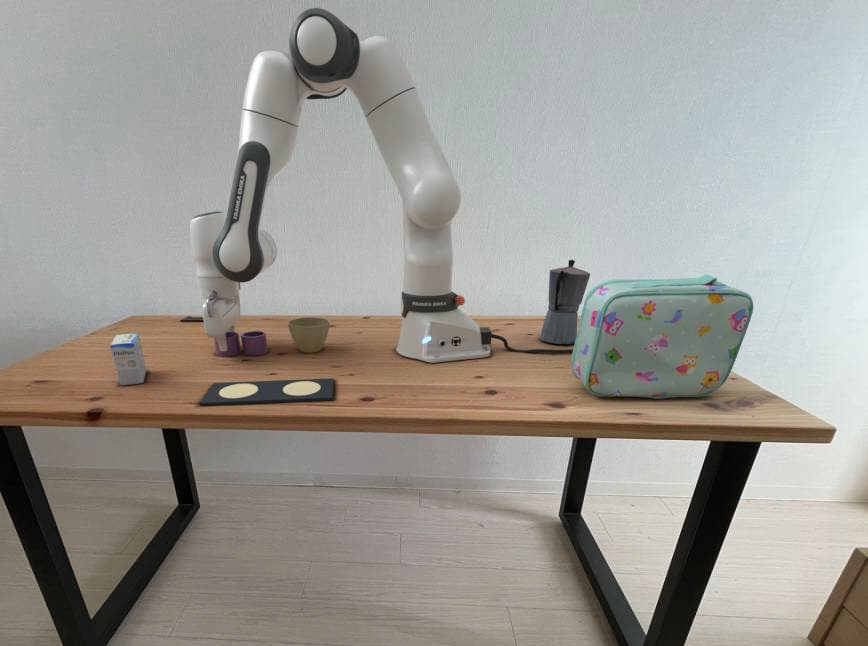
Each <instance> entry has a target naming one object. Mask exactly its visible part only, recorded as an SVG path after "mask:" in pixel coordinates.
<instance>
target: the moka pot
mask: <svg viewBox="0 0 868 646" xmlns="http://www.w3.org/2000/svg"><path fill="white" fill-rule="evenodd" d="M575 263H576V260H575V259H568V266H565V267H559V268H558V267H557V268H553V269H550V270H549V276H548V277H549V278H548V281H549V282H548V307H547V309H548V310H547V312H546V315H545V318H544V321H543V325H542V328H541V331H540V334H539V339H540V340H541V341H543V342H544V343H550V344H555V345H573V344H575V341H576V337H577V333H578V320H579V319H578V317H579V313H578V311H579V309H580V305H581V304H582V302H583V299H584V297H585V296H584V295H585V292H586V289H587V286H588V284H589V280H590V277H591V273H590V272H589V271H586V270H583V269H580V268H578V267H575Z"/></svg>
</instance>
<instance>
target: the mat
mask: <svg viewBox="0 0 868 646" xmlns="http://www.w3.org/2000/svg"><path fill="white" fill-rule="evenodd" d="M334 379H335V378H331V377H329V378H308V379H307V378H305V379H281V380H278V379H277V380H255V381H254V380H253V381H230V382H229V381H228V382H213V383H212V384H211V386H210V388H208V390H207V391H206V393H205V395H204V396H203V397H202V399H201V400H200V401H199V406H201V407H203V406H205V407H207V406H226V405H227V406H229V405H253V404H277V403H297V402H298V403H300V402H322V401H323V402H324V401H325V402H326V401H333V400H334V384H335V383H334V381H335V380H334Z"/></svg>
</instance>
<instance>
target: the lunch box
mask: <svg viewBox="0 0 868 646" xmlns="http://www.w3.org/2000/svg"><path fill="white" fill-rule="evenodd" d="M753 312H754V301H753V298H752V296H751V295H750V294H749V293H747V292H746V291H743V290H741V289H739V288H736V287H733V286H730V285H727V284H726V283H723V282H721V281H718V278H717V277H714V276H713V275H710V274H704V275H701V276H698V277H685V278H684V277H683V278H663V279H662V278H661V279H656V278H655V279H650V278H649V279H626V278H625V279H623V278H621V279H619V278H615V279H614V278H613V279H607V280H604V281H601V282H599V283H597V284H595V285H594V286H593V287H592V288H591V289H590V290H589V291H588V292H587V294H586V296H585V299H584V302H583V306H582V310H581V314H580V319H579V323H578V327H577V337H576V341H575V343H574V345H573V348H572V349H573V353H571V363H570V365H571V371H572V374H573V376H574V377H575V378H576V379H578V380H579V381H580V382H581V384H582V385H583V386H584V387H585V389H586V391H588V392H589V393H590V394H592V395H594V396H597V397H606V398H607V397H612V398H613V397H614V398H615V397H617V398H619V397H620V398H621V397H623V398H624V397H632V398H650V399H654V400H661V399H667V398H668V399H669V398H699V397H705V396H709V395H712V394H713V393H715V392H717V391H718V390H719V389H720V388H721V387H722V386H723V385H724V384H725V383H726V381H727V380H728V379H729V377H730V375H731V372H732V370H733V368H734V365H735V363H736V360H737V358H738V356H739V352H740V350H741V347H742V343H743V342H744V339H745V336H746V333H747V331H748V328H749V325H750V322H751V320H752V317H753Z"/></svg>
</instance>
